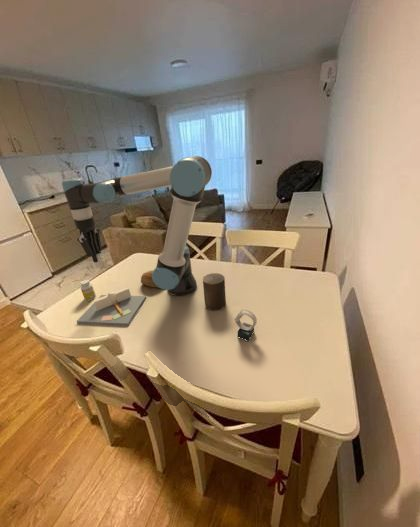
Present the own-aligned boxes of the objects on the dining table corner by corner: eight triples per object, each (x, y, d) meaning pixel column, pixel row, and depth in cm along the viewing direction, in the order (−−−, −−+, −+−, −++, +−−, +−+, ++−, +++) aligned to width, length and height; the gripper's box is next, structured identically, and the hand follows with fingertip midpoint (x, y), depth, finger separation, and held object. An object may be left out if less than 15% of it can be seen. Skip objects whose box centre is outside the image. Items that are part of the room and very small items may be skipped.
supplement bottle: (95, 299, 120) (89, 283, 115) (84, 301, 118) (77, 285, 114) (96, 293, 124) (91, 278, 120) (85, 296, 123) (79, 280, 119)
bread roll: (159, 292, 121) (157, 279, 118) (137, 287, 127) (133, 274, 124) (170, 283, 129) (168, 270, 125) (148, 278, 135) (145, 266, 132)
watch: (239, 327, 94) (238, 304, 89) (258, 333, 90) (258, 310, 85) (232, 336, 90) (232, 313, 85) (252, 343, 86) (253, 319, 81)
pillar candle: (224, 311, 104) (222, 281, 97) (202, 309, 106) (199, 280, 99) (227, 298, 112) (226, 270, 106) (207, 297, 114) (204, 269, 108)
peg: (129, 294, 118) (126, 285, 115) (139, 306, 109) (136, 296, 106) (95, 308, 110) (92, 298, 107) (103, 322, 100) (99, 311, 98)
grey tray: (146, 298, 117) (145, 295, 117) (128, 325, 100) (127, 323, 99) (102, 296, 121) (101, 294, 121) (77, 323, 104) (76, 320, 103)
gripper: (84, 214, 106) (99, 261, 117) (65, 222, 95) (83, 274, 105) (100, 213, 105) (113, 260, 116) (82, 222, 94) (99, 274, 104)
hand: (99, 267), depth 111 cm, fingers closed
